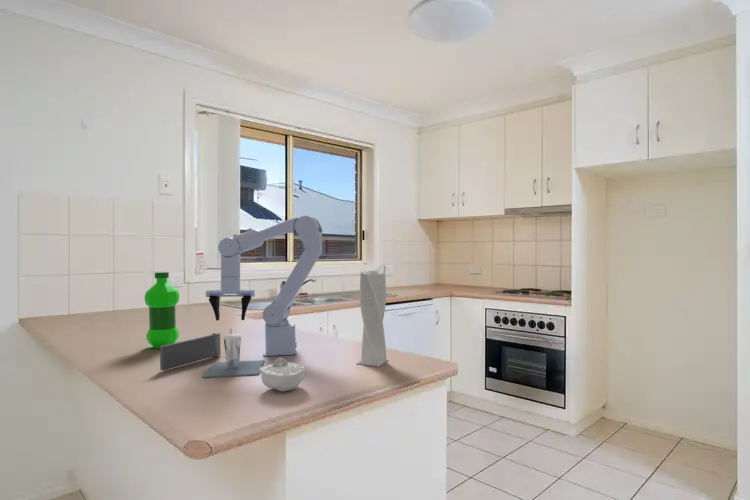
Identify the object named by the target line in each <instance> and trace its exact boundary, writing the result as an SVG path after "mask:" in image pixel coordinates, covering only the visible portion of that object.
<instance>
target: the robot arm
mask: <svg viewBox="0 0 750 500" xmlns="http://www.w3.org/2000/svg"><path fill="white" fill-rule="evenodd" d="M289 233H291V234H297V235H298V237H299V238H300V239H301V242H302V244H303V247H304V251H303V252H302V254H301V255H300V257H299V259H298V260H297V262H296V264H295V266H294V267H293V269H292V271H291V272H290V274H289V275H288V278H287V279H286V281H285V283H284V284H283V286H282V287H281V290H279V293H278V294H277V295H276V296H275V297H274V299H273V300H272V302H271V303H270V304H269V305H267V306H266V307H264V309H263V312H262V318H263V321H264V322H265V323H264V335H265V336H264V337H265V338H264V339H265V340H264V341H265V345H264V346H265V348H264V352H263V357H269V356H270V357H272V356H291V355H296V350H297V340H296V323H290V322H289V320H288V318H289V316H290V315H291V307H292V305H293V304H294V299H295V298H296V296H297V294H298V293H299V291H300V290H301V287H302V286H303V284H304V283H305V281H306V279H307V278H308V276H309V274H310V273H311V271H312V269H313V267H314V266H315V265H316V262H317V261H318V259H319V257H321V254H322V252H323V228H322V227H321V224H320V222H319V220H318V219H317V218H315V217H311V216H309V215H302V216H299V217H293V218H290V219H287V220H284V221H282V222H279V223H277V224H274V225H272V226H269V227H267V228H265V229H262V230H259V229H257V228H254V229H253V228H252V227H250V228H247V229H246V231H244V232H242V233H239V234H237V233H236V234H235V233H234V234H232V237H229V236H227V237H224V238H223V239H221V240H220V241H219V243H218V245H217V246H218V249H217V250H218V252H219V254H220V259H221V260H220V289H210V290H209V289H207V290H205V298H208V301H209V304H210V306H211V308H212V310H213V312H214V316H215V317H214V318H215V321H217V322H218V321H220V318H221V317H220V316H221V315H220V304H221V303H220V302H221V298H223V297H227V298H228V297H229V298H230V297H231V298H232V297H236V298H237V297H238V298H239V297H241V299H240V300H241V317H240V318H241V321H245V320H246V318H245V317H246V313H247V309H248V308H249V307H248V306H249V304H250V301H252V300H251V299H252V297H253V298H254V297H255V296H256V295H255V292H256V291H255V290H254V289H241V254H242V253H245V252H248V251H251V250H254V249H256V248H260V247H262V246H263V244H264V242H265V241H266V240H270V239H273V238H276V237H279V236H282V235H286V234H289Z"/></svg>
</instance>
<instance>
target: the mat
mask: <svg viewBox="0 0 750 500" xmlns="http://www.w3.org/2000/svg"><path fill="white" fill-rule="evenodd" d="M264 364H265V360H264V359H260V360H259V359H258V360H257V359H256V360H241V361H239V367H238V368H234V369H229V368H227V365H226V361H219V362H213V363H212V364H211V365H210V367H208V369H207V370H206V371H205V373H203V375H202V376H201V377H202V378H203V379H211V378H226V377H227V378H228V377H246V376H250V377H251V376H259V375H260V374H261V371H260V368H261V367H262V366H264Z"/></svg>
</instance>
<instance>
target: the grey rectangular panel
mask: <svg viewBox="0 0 750 500" xmlns="http://www.w3.org/2000/svg"><path fill="white" fill-rule="evenodd" d="M221 349H222V348H221V332H213V333H211V334H209V335H205V336H201V337H195V338H191V339H187V340H182V341H178V342H177V341H176V342H175V343H173V344H168V345H164V346H160V348H159V358H160V360H159V363H160V364H159V365H160V369H159V370H160V371H168V370H171V369H174V368H178V367H180V366H185V365H188V364H189V365H190V364H192V363H195V362H199V361H203V360H206V359H210V358H215V357H219V356H221V354H222V353H221Z"/></svg>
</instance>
